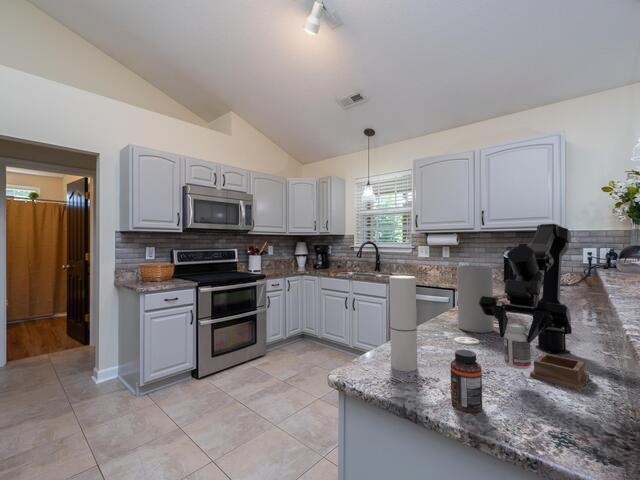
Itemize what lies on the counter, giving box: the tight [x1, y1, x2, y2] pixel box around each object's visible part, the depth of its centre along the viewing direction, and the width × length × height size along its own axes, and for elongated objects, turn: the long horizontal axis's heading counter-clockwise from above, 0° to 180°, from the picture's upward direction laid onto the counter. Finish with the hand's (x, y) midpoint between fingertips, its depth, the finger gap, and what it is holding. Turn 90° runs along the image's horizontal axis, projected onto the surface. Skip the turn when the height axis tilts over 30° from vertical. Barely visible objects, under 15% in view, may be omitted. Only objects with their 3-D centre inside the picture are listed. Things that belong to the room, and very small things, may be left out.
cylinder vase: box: [456, 264, 495, 334], centre depth 121 cm, size 12×12×25 cm
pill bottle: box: [503, 322, 532, 370], centre depth 74 cm, size 5×5×10 cm
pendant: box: [453, 336, 487, 346], centre depth 106 cm, size 7×11×1 cm, turn 94°
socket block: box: [529, 352, 590, 391], centre depth 77 cm, size 10×10×4 cm
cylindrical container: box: [388, 275, 418, 372], centre depth 85 cm, size 7×7×25 cm
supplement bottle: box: [450, 349, 483, 414], centre depth 64 cm, size 6×6×11 cm
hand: (514, 339), depth 73 cm, fingers closed on pill bottle, 5 cm apart
